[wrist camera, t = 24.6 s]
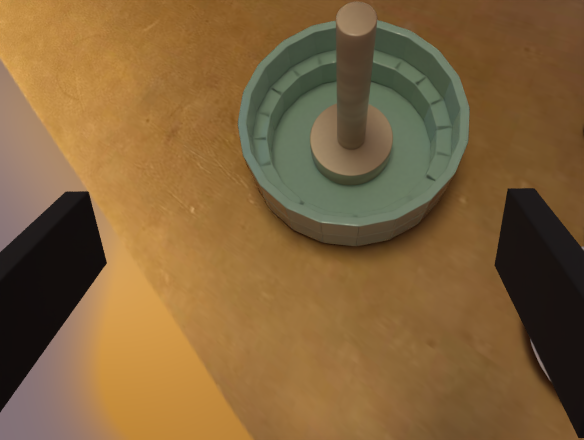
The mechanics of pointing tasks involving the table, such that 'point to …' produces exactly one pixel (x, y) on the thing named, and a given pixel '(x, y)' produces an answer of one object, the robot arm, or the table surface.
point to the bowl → (383, 95)
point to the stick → (352, 106)
